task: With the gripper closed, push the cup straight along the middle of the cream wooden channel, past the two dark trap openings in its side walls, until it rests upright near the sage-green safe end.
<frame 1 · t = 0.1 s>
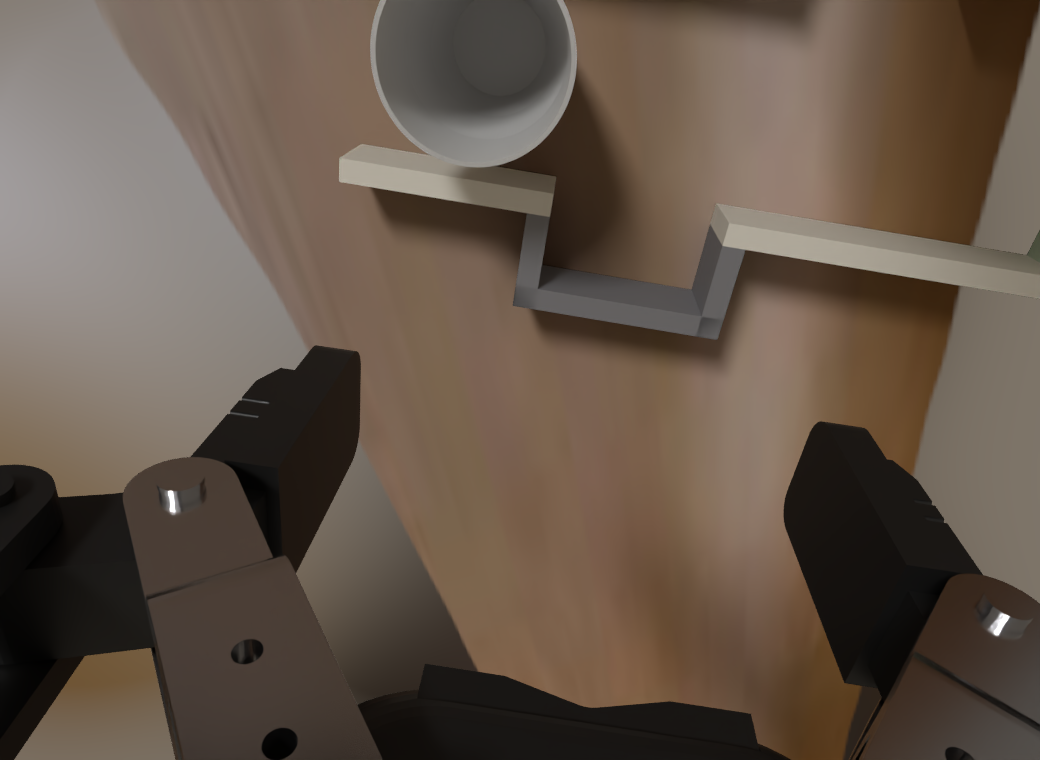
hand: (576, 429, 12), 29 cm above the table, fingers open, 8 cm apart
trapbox: (710, 81, 36), on the table
cup: (500, 46, 36), on the table
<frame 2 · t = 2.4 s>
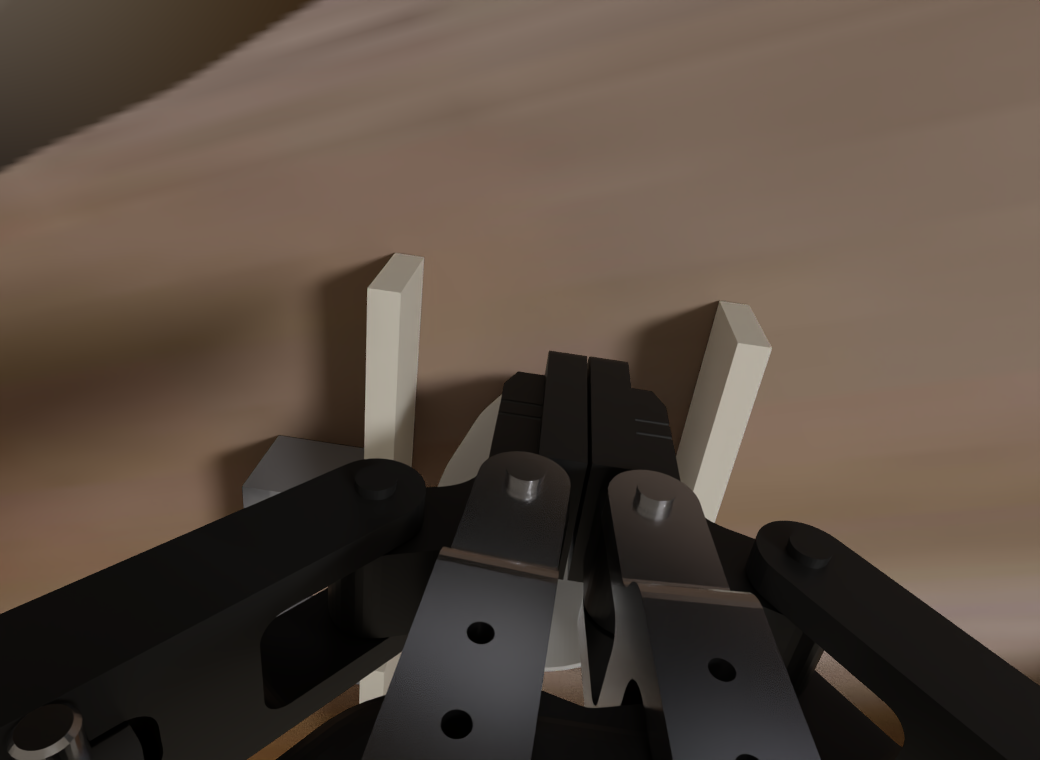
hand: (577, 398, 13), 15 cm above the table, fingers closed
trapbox: (517, 600, 37), on the table
cup: (547, 422, 32), on the table
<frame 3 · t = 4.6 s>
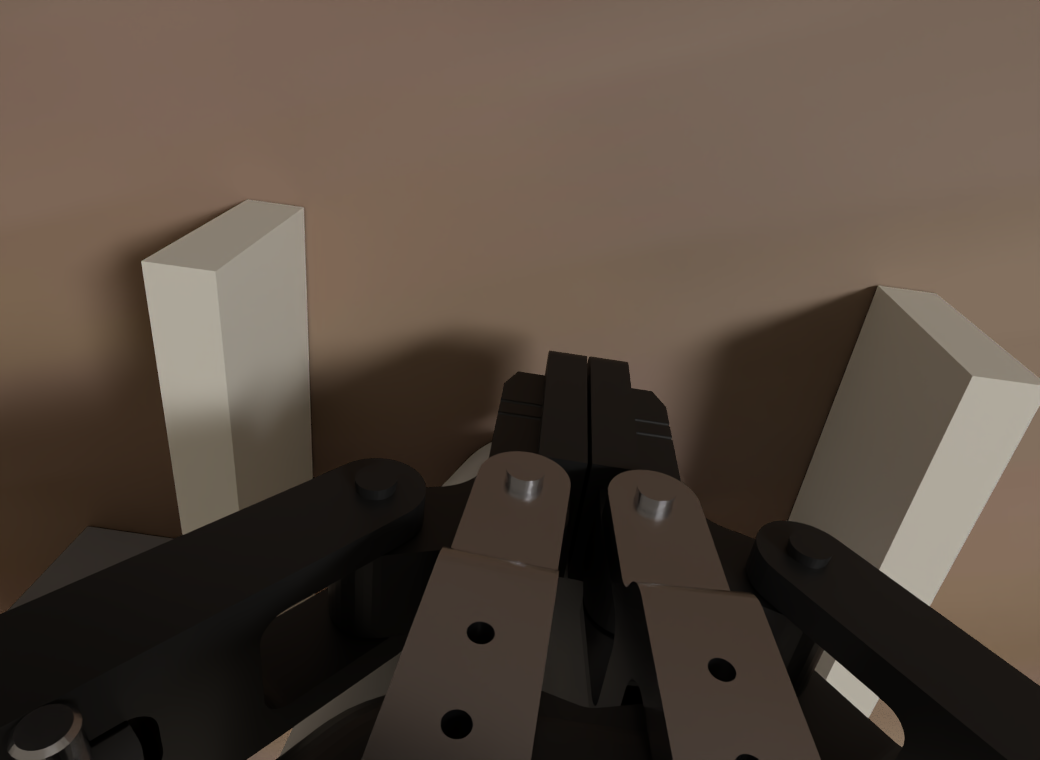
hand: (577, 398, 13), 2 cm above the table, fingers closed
cup: (544, 509, 18), on the table, touching gripper
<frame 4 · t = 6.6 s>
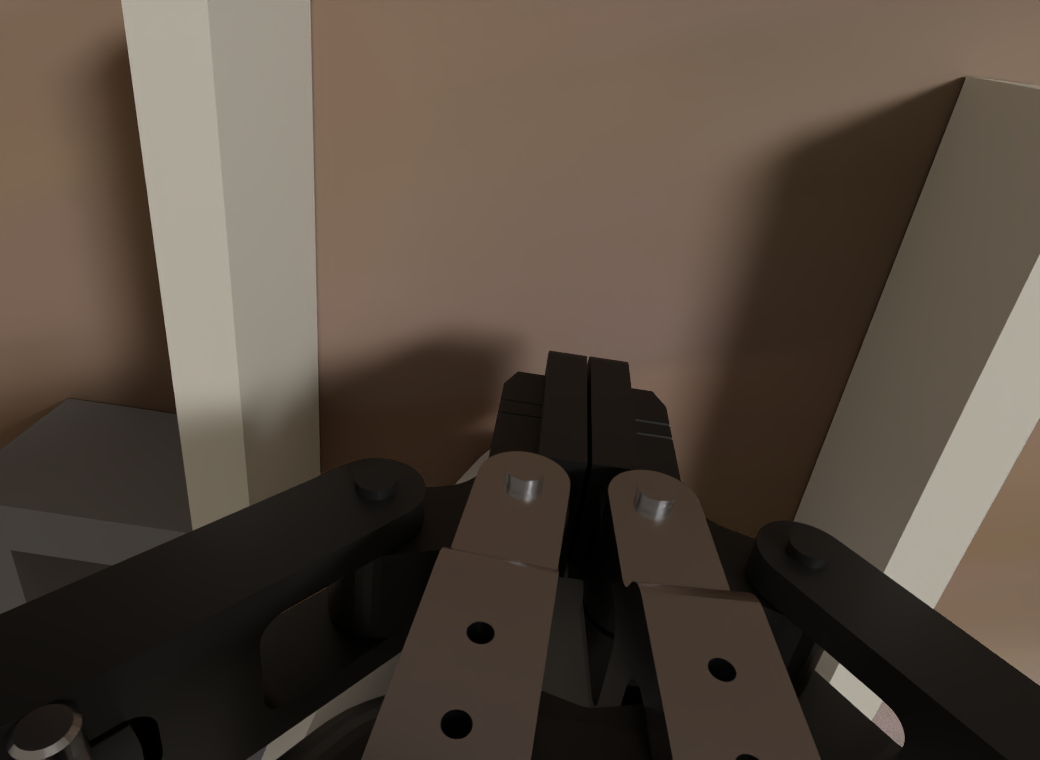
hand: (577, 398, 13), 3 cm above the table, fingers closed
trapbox: (519, 689, 21), on the table
cup: (554, 508, 18), on the table, touching gripper
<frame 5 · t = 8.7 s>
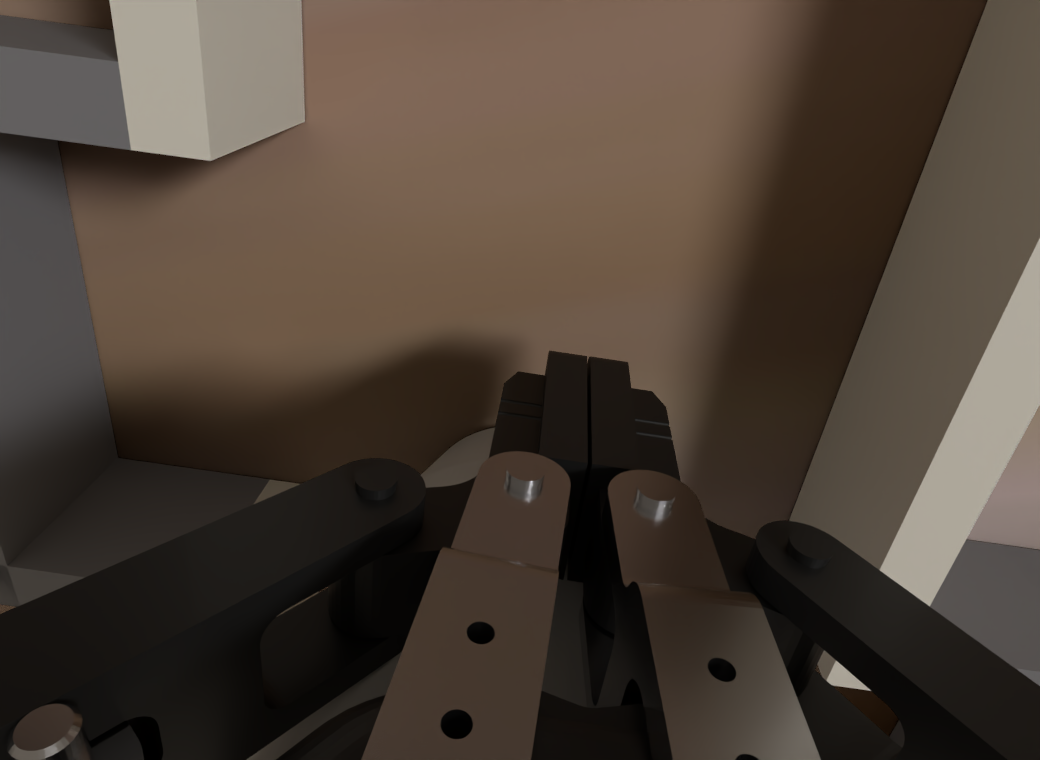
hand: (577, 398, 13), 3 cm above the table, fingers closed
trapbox: (556, 454, 17), on the table
cup: (520, 503, 18), on the table, touching gripper
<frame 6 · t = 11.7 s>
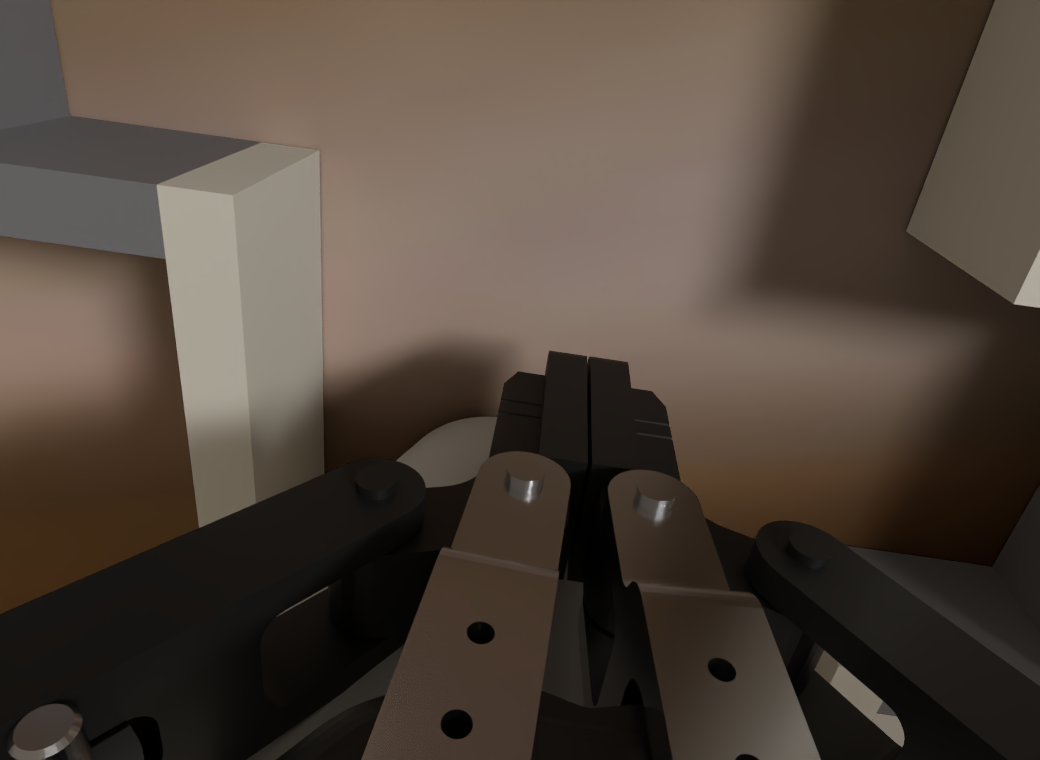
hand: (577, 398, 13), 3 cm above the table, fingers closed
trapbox: (629, 84, 13), on the table
cup: (494, 493, 18), on the table, touching gripper, hand
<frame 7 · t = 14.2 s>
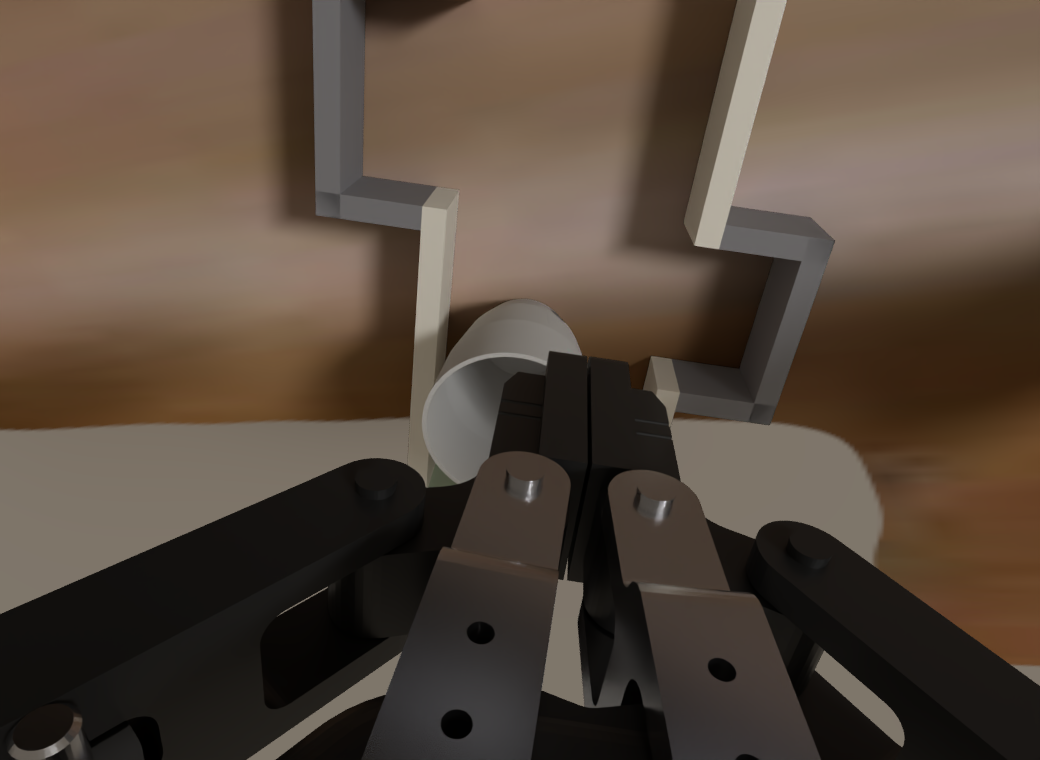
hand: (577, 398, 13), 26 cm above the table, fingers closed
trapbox: (577, 167, 36), on the table
cup: (523, 337, 41), on the table
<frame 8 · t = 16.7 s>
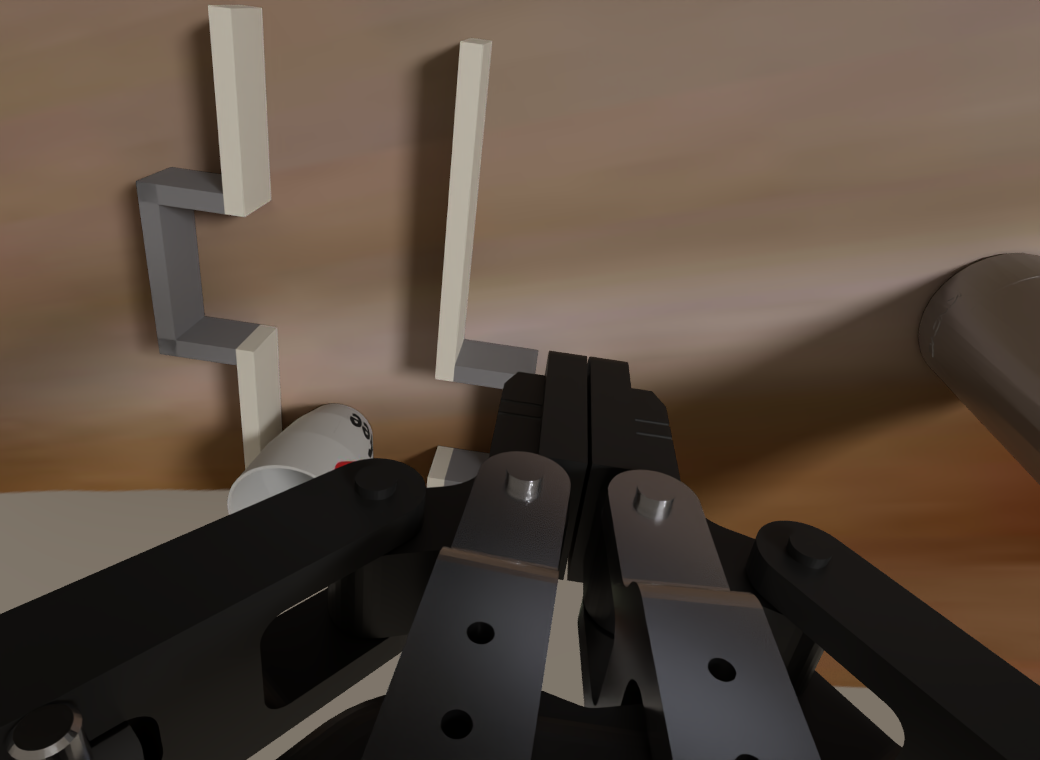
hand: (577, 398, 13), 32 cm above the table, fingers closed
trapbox: (361, 313, 48), on the table
cup: (340, 430, 53), on the table
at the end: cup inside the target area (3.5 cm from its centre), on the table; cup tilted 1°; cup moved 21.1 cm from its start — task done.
